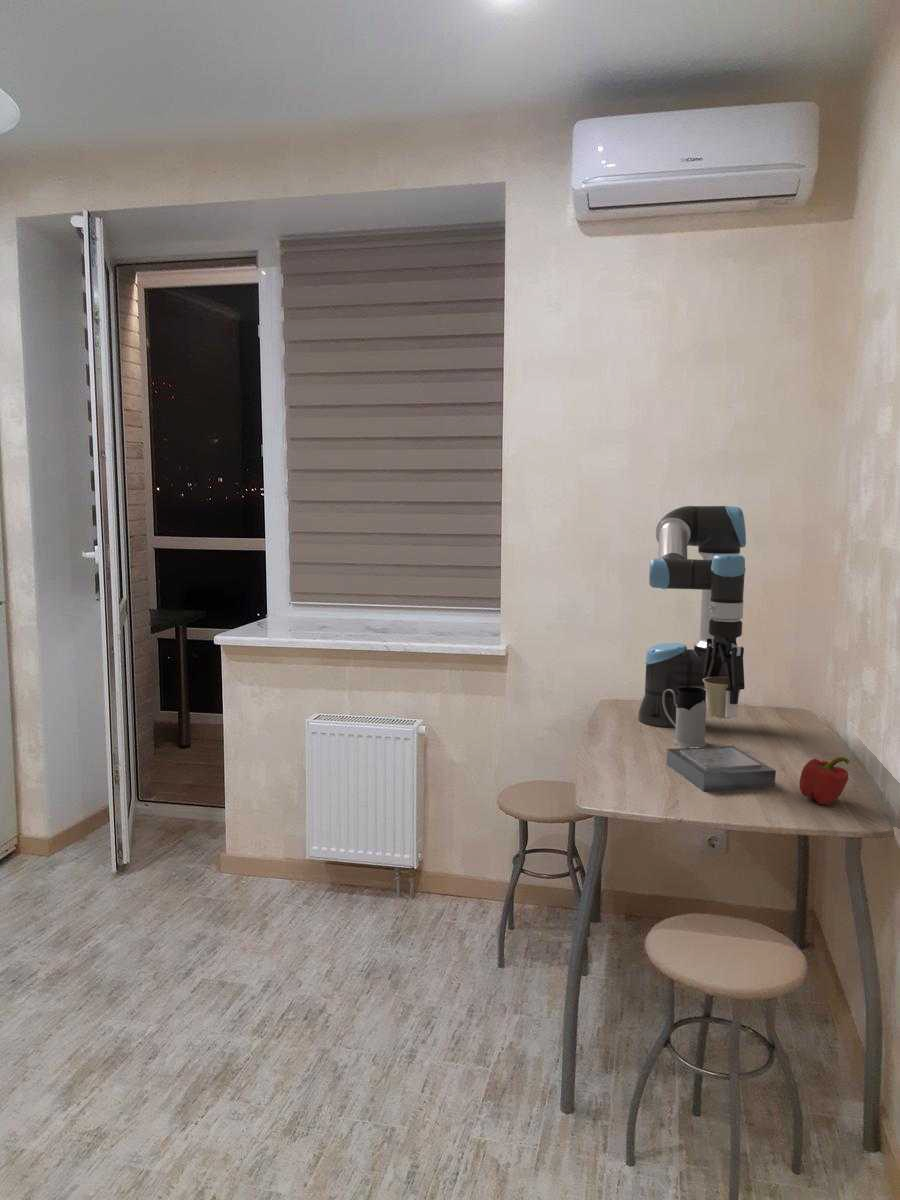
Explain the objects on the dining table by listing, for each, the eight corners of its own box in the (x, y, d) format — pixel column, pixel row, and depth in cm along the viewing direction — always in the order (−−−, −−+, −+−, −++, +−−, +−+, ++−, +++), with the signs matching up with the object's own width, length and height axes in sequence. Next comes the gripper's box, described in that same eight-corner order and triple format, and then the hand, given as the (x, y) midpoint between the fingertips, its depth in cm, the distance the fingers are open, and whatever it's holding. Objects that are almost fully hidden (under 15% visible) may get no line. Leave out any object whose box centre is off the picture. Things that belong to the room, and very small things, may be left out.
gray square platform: (666, 764, 217) (667, 747, 217) (732, 760, 220) (733, 743, 220) (703, 791, 198) (704, 772, 197) (774, 786, 201) (775, 768, 200)
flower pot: (715, 721, 201) (716, 685, 200) (693, 712, 210) (695, 677, 209) (750, 719, 204) (752, 683, 203) (727, 709, 213) (729, 675, 212)
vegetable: (836, 792, 197) (839, 750, 196) (859, 808, 187) (862, 764, 186) (789, 792, 197) (792, 750, 196) (810, 809, 187) (812, 764, 186)
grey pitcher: (692, 749, 230) (694, 695, 228) (651, 737, 241) (653, 685, 239) (712, 744, 235) (715, 690, 233) (671, 732, 246) (673, 681, 244)
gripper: (691, 613, 214) (687, 702, 217) (733, 626, 193) (728, 724, 196) (718, 613, 215) (714, 701, 218) (764, 625, 195) (759, 722, 197)
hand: (721, 711), depth 207 cm, fingers closed on flower pot, 8 cm apart
